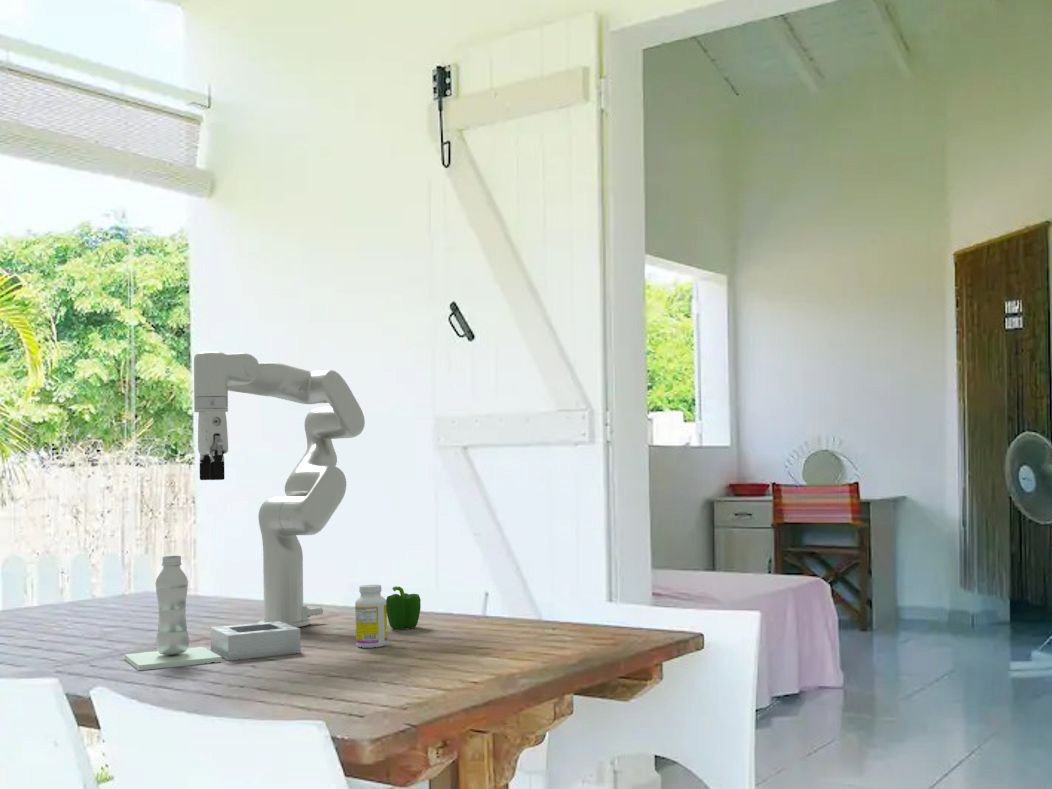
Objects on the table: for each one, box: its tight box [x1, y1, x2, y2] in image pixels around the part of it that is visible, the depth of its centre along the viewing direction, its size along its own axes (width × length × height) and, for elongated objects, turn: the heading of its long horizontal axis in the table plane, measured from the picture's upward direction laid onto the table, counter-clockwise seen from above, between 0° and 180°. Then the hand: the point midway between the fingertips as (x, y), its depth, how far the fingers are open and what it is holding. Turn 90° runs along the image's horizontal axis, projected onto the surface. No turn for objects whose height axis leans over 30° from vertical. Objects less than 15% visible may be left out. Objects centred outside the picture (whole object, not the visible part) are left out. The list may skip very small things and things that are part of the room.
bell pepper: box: [385, 585, 422, 630], centre depth 272 cm, size 8×8×10 cm
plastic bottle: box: [154, 555, 190, 656], centre depth 234 cm, size 6×7×20 cm
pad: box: [124, 646, 223, 671], centre depth 233 cm, size 16×16×1 cm
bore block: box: [210, 621, 302, 661], centre depth 241 cm, size 15×15×5 cm
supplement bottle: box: [354, 584, 388, 649], centre depth 246 cm, size 7×7×13 cm
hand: (211, 479), depth 263 cm, fingers open, 9 cm apart
